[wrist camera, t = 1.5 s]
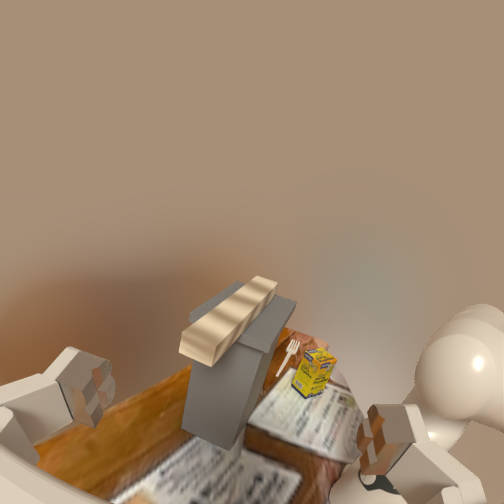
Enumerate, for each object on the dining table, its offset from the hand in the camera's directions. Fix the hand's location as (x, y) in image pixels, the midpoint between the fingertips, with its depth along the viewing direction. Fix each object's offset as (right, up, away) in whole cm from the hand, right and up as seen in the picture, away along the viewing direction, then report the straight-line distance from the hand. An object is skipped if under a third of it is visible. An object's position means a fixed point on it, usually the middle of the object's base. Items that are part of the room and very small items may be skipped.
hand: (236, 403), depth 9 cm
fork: (+10, -26, +76) cm, 81 cm away
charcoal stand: (-6, -29, +48) cm, 56 cm away
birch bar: (-2, -5, +36) cm, 36 cm away
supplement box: (+14, -30, +64) cm, 72 cm away
